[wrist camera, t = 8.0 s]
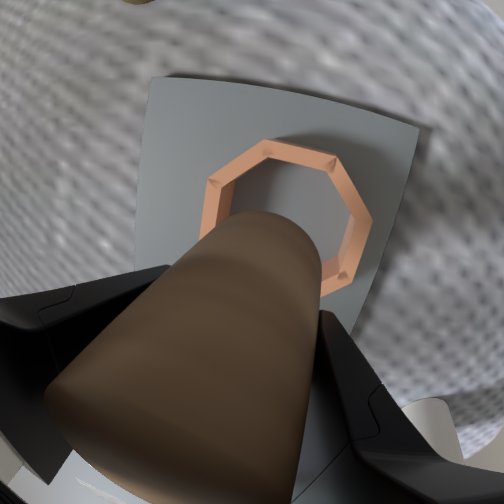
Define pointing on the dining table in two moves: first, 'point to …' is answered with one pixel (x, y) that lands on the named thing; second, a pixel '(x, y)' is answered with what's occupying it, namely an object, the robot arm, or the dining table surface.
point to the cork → (138, 1)
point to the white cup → (436, 427)
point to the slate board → (267, 171)
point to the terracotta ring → (223, 181)
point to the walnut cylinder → (204, 372)
